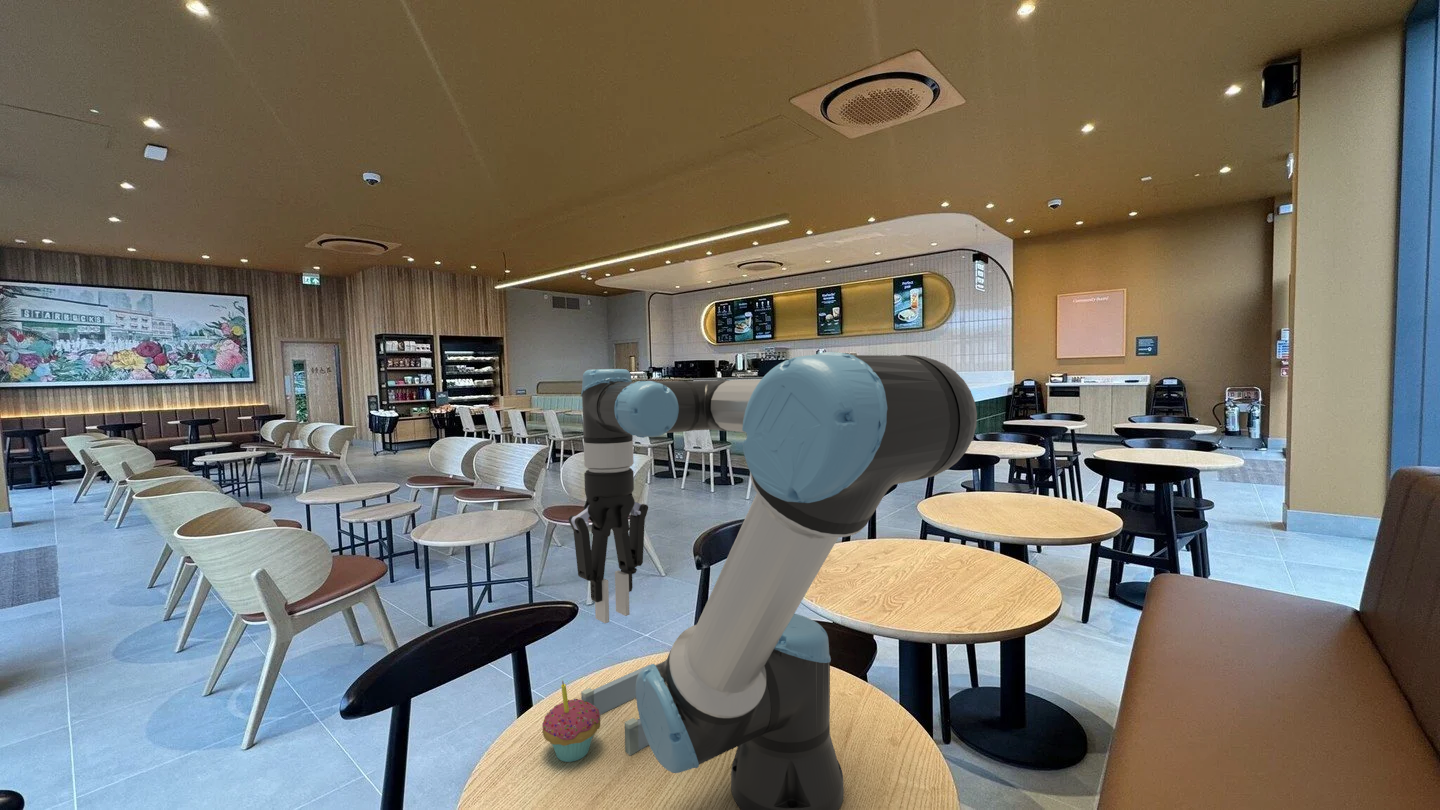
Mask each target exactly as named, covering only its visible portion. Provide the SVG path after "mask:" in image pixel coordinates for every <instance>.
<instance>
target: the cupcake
mask: <svg viewBox="0 0 1440 810" xmlns="http://www.w3.org/2000/svg"><path fill="white" fill-rule="evenodd" d="M561 695H562V702H561V703H559V704H557V705H554V707H553V708H552V709H550V710H549V711H548V712H547V713H546V715H545V716H544V719H543V722H542V724H541V725H542V735H543V737H544V739H545V740H546V741H547V742H549V743H550V744H551V745H552V747H553V750H554V752H555V755H556V757H557V759H558V760H559V761H562V762H565V763H570V762H575V761H579V760H581V759H583V758H584V757H586V755H588V753H589V751H590V747H591V743H592V740H593V738H594V736H595V734H596V733H597V732H598V731H599V729H600V727H601V715H600V713H599V710H598V709H597V708H596V706H595V705H592V704H591V703H589V702H587V701H584V700H582V699H578V698H574V699H568V691H567V685H566V684H565V683H564V680H561Z"/></svg>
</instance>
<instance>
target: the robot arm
mask: <svg viewBox="0 0 1440 810" xmlns="http://www.w3.org/2000/svg"><path fill="white" fill-rule="evenodd" d="M581 380H582V384H581V392H580V396H581V401H582V402H581V404H582V428H583V429H582V432H583V434H582V435H583V456H584V457H583V459H584V461H583V464H584V468H586V469H587V470H585V472H584V495H585V497H586V500H585V504H584V506H583V510H582V511H581V512H579V513H578V514H577V515H570V516H569V517H568V523H569V525H570V526H571V529H572V531H573V540H574V550H575V557H576V567H577V568H576V569H577V575H578V577H579V578H582V579H583V580H586V581H588V582H589V583H590V585H589V586H590V598H591V600H592V601H593V602H594V608H595V609H594V610H595V617H594V618H595V620H597V621H600V622H601V623H604V624H608V623H609V622H610V604H609V603H610V601H609V600H610V596H609V595H610V594H609V593H610V592H609V591H610V589H609V580H608V579H605V577H604V576H605V567H606V561H607V560H606V559H607V551H608V541H609V537H610V536H611V530H612V532H613V533H612V534H613V539H614V544H615V551H616V557H617V563H618V568H619V570H616V571H614V587H615V589H614V591H615V596H614V597H615V612H616V613H618V614H620V615H622V616H624V617H627V616H630V615H631V614H630V612H631V611H630V592H632V591H633V575H634V574H636V572H637V571H638V569H637V567H641V566H642V565H643V563H644V562H643V561H644V545H645V544H644V543H645V526H646V525H645V521H646V518H647V514H648V511H649V506H648V504H645V503H641V502H638V501H635V498H634V496H633V492H634V489H635V484H634V483H635V480H634V479H635V478H634V473H635V472H634V470H633V469H632V468H631V467H632V466H633V465H634V440H633V438H634V437H633V436H635V437H636V438H637V437H638V438H647V437H648V438H654V437H655V438H656V437H660V436H663V435H664V434H668V433H669V434H670V433H681V432H682V433H683V432H684V433H685V432H689V431H690V432H691V431H693V432H694V431H707V430H708V431H711V430H713V431H714V430H715V431H723V432H737V433H745V434H746V439H745V440H744V441H742V450H743V451H742V452H743V455H744V459H745V462H746V465H747V468H748V471H749V476H750V481H751V485H752V486H753V489H754V491H755V496H754V499H753V500H752V503H751V505H750V507H749V509H748V511H747V513H746V515H745V517H744V518H745V519H744V520H743V522H742V524H741V526H740V528H739V531H738V533H737V536H736V538H735V540H734V542H733V543H732V546H731V549H730V550H729V553H728V555H727V558H726V560H725V562H724V564H723V567H722V568H721V570H720V573H719V575H718V577H717V580H716V582H715V584H714V586H713V588H712V591H711V592H710V595H709V597H708V599H707V601H706V603H705V606H704V607H703V610H702V613H701V614H700V617H699V618H698V622H697V623H696V624H694V625H692V626H690V627H688V628H686V629H685V630H683V631H682V632H681V633H680V634H679V635H678V637H677V638H676V639H675V641H674V642H673V644H672V647H671V649H670V651H669V653H668V656H667V658H666V659H665V660H664V661H662V662H660V663H657V664H654V663H651V664H649V665H650V666H649V667H647V668H645V669H643V670H642V671H641V672H640V673H639V674H638V677H637V680H636V698H635V701H636V707H637V711H638V712H637V713H638V716H639V717H638V718H640V721H641V724H642V727H643V730H644V733H645V736H646V739H647V741H648V743H649V745H648V746H649V748H650V750H651V752H652V753H653V756H654V757H655V759H656V760H657V761H658V763H659V765H661V766H662V767H663V768H664V769H665V770H666V771H668V772H670V773H672V774H680V773H682V772H686V771H689V770H692V769H698V768H699V767H700V765H703V764H704V763H706V762H708V761H710V760H712V759H714V758H716V757H718V756H721V755H722V754H725V753H726V752H728V751H731V750H733V749H735V748H737V749H736V751H735V755H734V758H733V761H732V764H731V770H730V771H731V772H730V784H731V785H730V787H731V788H730V789H731V795H732V798H733V799H734V801H735V804H736V805H737V806H738V807H739V809H740V810H839V809H840V807H841V806H842V803H843V800H844V776H843V775H844V774H843V769H842V767H841V764H840V762H839V760H838V758H837V755H836V751H835V748H834V744H833V741H832V737H831V731H830V730H831V727H830V723H831V721H830V719H831V717H830V716H831V713H830V710H831V708H830V707H831V704H830V703H831V702H830V701H831V699H830V698H831V693H830V692H831V660H832V658H831V655H830V647H829V646H830V643H829V636H828V633H827V631H826V630H825V628H823V626H822V625H821V624H819V623H818V622H817V621H815V620H813V619H811V618H809V617H807V616H804V615H801V614H797V613H796V611H797V610H798V608H799V606H800V605H801V603H802V601H803V599H804V598H805V596H806V594H807V593H808V591H809V589H810V587H811V585H812V584H813V582H814V581H815V578H816V577H817V575H818V574H819V572H820V570H821V568H822V567H823V565H824V563H825V562H826V560H827V558H828V556H829V555H830V553H831V551H832V550H833V548H834V547H835V544H836V542H837V541H838V539H839V538H847V537H850V536H853V535H856V534H858V533H860V532H861V531H862V530H863V529H864V528H865V527H866V526H867V525H868V523H869V521H870V519H871V518H872V517H873V515H874V513H875V511H876V509H878V507H879V505H880V503H881V501H882V499H884V497H885V495H886V494H887V492H888V491H889V490H890V489H891V488H892V487H893V486H894V485H899V484H900V485H901V484H904V483H909V482H915V481H919V480H924V479H928V478H933V477H935V476H937V475H939V474H941V473H943V472H945V471H947V470H949V469H950V468H951V467H953V466H954V465H955V464H957V463H958V462H959V461H960V459H961V458H962V457H963V456H964V455H965V454H966V452H967V451H968V450H969V447H970V445H971V443H972V441H973V440H974V437H975V433H976V429H977V422H978V421H977V419H978V413H977V406H976V401H975V399H974V398H975V397H974V396H973V394H972V390H971V389H970V388H969V386H968V384H967V383H966V381H965V380H964V378H963V377H961V376H960V374H959V373H957V372H956V371H955V370H954V369H953V368H951V367H950V366H948V365H947V364H945V363H943V362H941V361H939V360H937V359H933V358H930V357H927V356H922V355H914V354H911V355H910V354H901V355H900V354H899V355H897V354H896V355H890V354H889V355H888V354H887V355H884V354H882V355H881V354H880V355H878V354H877V355H875V354H874V355H871V354H867V355H866V354H862V355H861V354H859V355H858V354H856V355H855V354H851V353H846V352H845V353H844V352H836V351H825V352H819V353H816V354H812V355H801V356H796V357H792V358H790V359H786V360H784V361H782V362H780V363H778V364H777V365H775V366H774V367H773V368H771V369H770V370H769V371H768V372H767V373H766V374H765V375H764V376H763V377H762V378H761V379H726V378H725V379H716V380H715V379H714V380H713V379H711V380H710V379H709V380H708V379H707V380H705V379H704V380H687V381H686V380H669V381H668V380H664V381H662V380H661V381H654V380H639V381H632V374H631V373H630V371H629V370H628V369H625V368H624V369H623V368H602V369H601V368H598V369H597V368H596V369H587V370H586V371H584V372H583V373H582V379H581ZM629 517H630V518H629ZM589 520H590V522H591V534H592V538H590V536H591V535H590V531H589V526H590V523H589ZM591 539H592V540H591Z"/></svg>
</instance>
